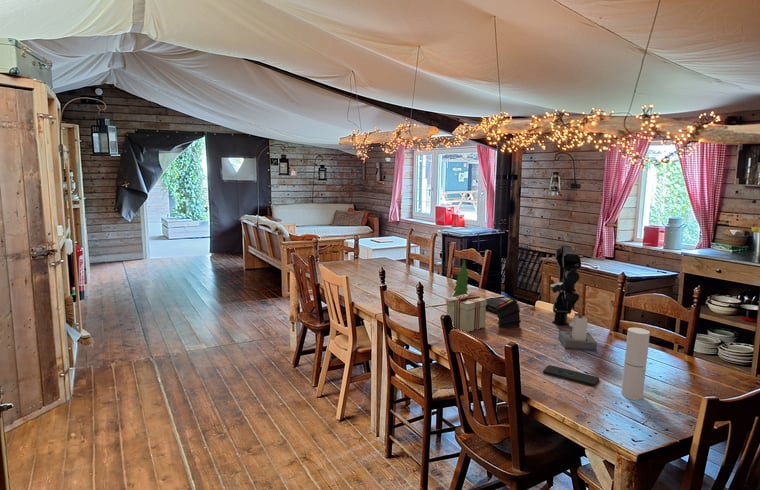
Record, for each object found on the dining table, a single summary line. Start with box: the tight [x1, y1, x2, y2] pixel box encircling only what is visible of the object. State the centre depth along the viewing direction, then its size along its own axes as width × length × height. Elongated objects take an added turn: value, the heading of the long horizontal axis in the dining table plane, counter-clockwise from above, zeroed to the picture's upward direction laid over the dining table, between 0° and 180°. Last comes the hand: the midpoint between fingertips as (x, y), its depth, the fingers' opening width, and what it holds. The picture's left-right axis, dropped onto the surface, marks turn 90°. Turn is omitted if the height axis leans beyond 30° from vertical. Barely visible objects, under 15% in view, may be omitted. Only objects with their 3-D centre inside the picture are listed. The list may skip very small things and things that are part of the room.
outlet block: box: [558, 330, 598, 352], centre depth 238 cm, size 14×14×4 cm
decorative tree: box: [452, 259, 469, 297], centre depth 290 cm, size 10×9×30 cm
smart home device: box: [542, 364, 600, 387], centre depth 202 cm, size 8×2×20 cm
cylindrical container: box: [620, 327, 651, 401], centre depth 184 cm, size 7×7×25 cm
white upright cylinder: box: [571, 313, 588, 341], centre depth 235 cm, size 5×5×15 cm
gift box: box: [444, 292, 488, 333], centre depth 261 cm, size 17×18×17 cm
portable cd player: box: [486, 297, 520, 315], centre depth 296 cm, size 16×17×4 cm
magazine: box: [495, 297, 522, 329], centre depth 262 cm, size 4×13×15 cm, turn 103°
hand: (566, 308), depth 252 cm, fingers open, 9 cm apart
